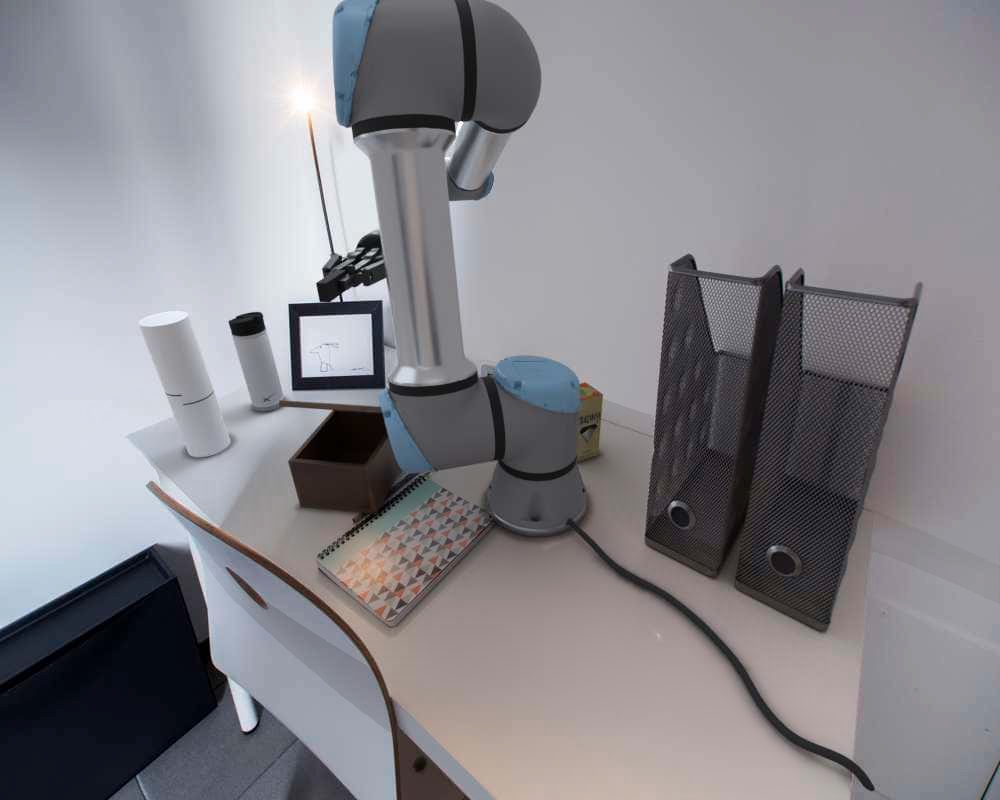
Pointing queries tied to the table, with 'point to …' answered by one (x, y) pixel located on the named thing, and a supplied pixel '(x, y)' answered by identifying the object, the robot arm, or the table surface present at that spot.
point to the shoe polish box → (589, 422)
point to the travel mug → (257, 361)
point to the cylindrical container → (185, 381)
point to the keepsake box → (346, 464)
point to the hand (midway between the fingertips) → (322, 292)
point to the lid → (330, 406)
